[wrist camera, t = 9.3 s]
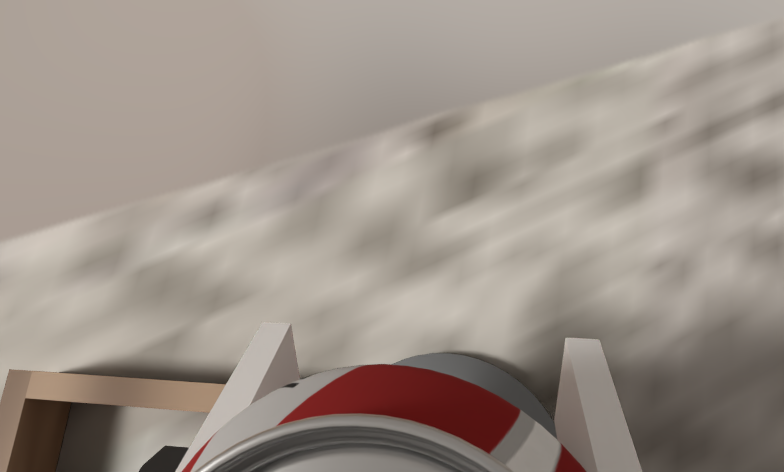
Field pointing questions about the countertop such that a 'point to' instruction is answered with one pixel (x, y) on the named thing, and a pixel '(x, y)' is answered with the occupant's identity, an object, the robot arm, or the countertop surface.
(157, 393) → the frame
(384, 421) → the soda can
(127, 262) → the countertop surface
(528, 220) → the countertop surface
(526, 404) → the coaster
